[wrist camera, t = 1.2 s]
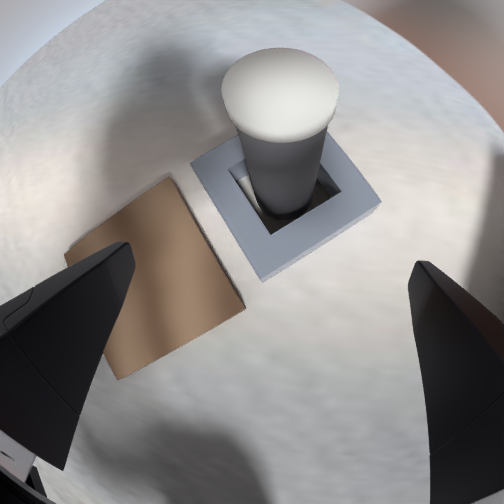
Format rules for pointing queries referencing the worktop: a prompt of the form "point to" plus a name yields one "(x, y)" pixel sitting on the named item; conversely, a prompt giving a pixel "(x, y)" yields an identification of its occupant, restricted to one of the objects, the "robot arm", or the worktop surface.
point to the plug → (281, 123)
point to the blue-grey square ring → (300, 230)
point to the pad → (161, 279)
